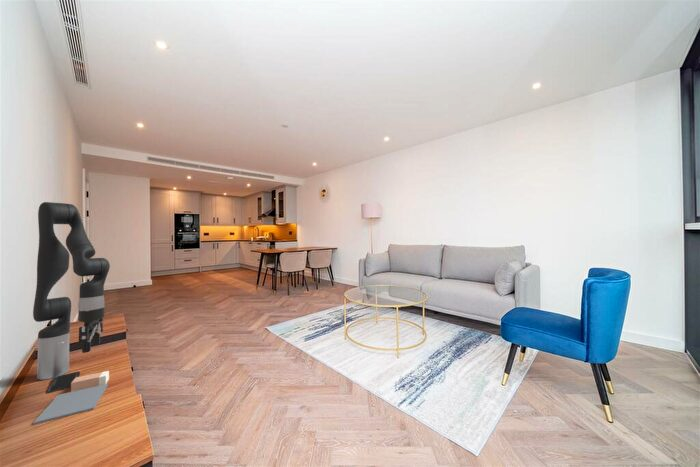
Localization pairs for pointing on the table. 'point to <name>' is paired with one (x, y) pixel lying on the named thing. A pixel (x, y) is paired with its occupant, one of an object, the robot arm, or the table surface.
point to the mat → (72, 403)
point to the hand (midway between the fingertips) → (91, 348)
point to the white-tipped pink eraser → (89, 381)
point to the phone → (62, 382)
